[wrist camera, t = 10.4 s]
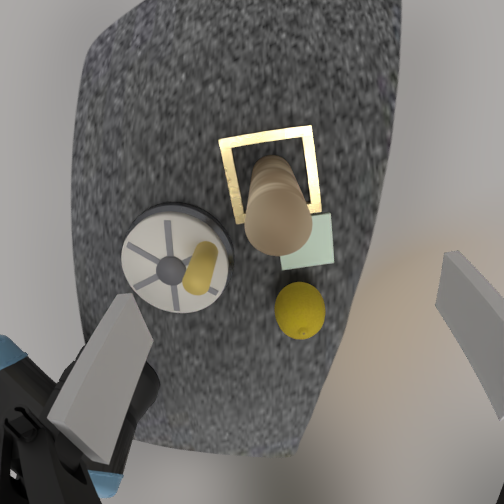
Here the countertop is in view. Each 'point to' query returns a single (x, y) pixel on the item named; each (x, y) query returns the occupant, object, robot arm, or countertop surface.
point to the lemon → (299, 310)
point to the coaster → (313, 246)
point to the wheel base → (200, 215)
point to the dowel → (276, 209)
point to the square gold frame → (266, 136)
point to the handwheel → (175, 262)
